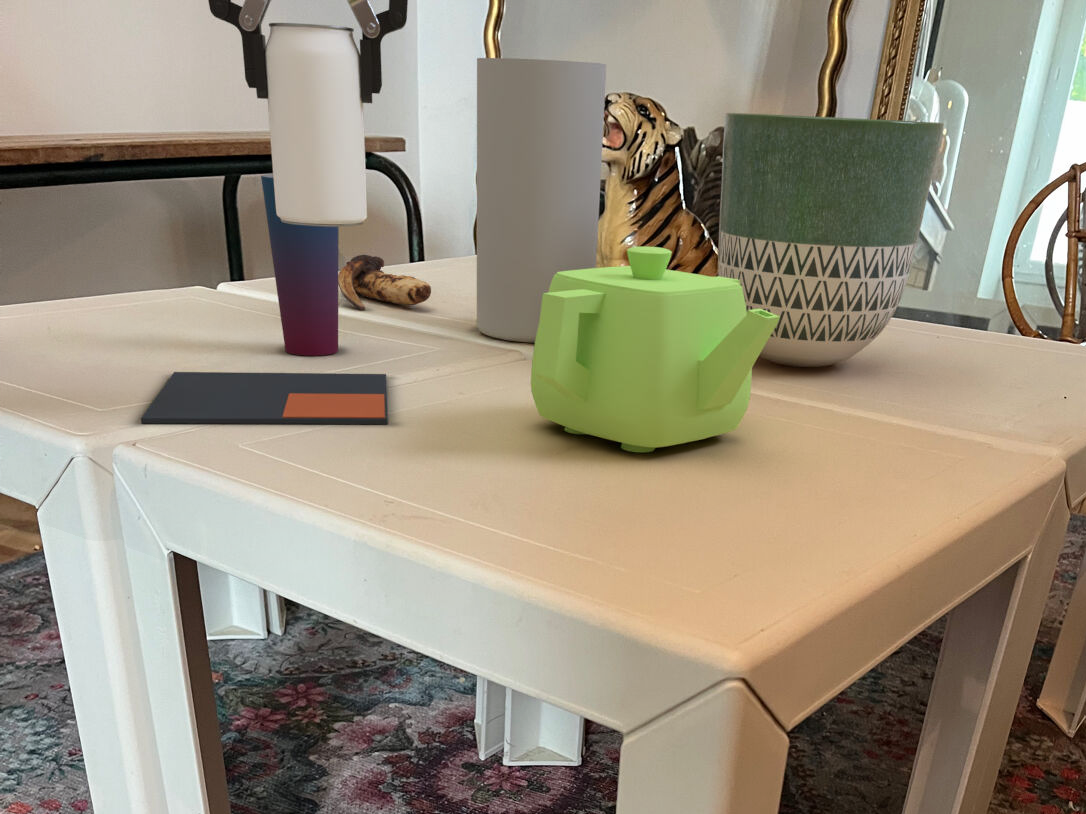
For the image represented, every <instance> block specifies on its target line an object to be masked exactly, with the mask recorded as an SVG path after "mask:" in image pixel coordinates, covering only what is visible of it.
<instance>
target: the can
mask: <svg viewBox="0 0 1086 814" xmlns="http://www.w3.org/2000/svg"><path fill="white" fill-rule="evenodd" d="M268 27H270V29H269V30H270V32H269V36H268V38H267V42H266V48H265V66H266V80H267V93H268V99H267V108H268V123H269V138H270V152H271V163H272V174H273V178H274V191H275V203H276V213H277V216H278V217H280V218H281V221H282V222H284V223H288V224H295V225H305V226H325V227H338V228H341V227H356V226H362V225H364V222H365V220H366V219H367V218H368V202H367V201H368V200H367V171H366V146H365V145H366V143H365V141H366V140H365V119H364V118H365V117H364V103H362V83H361V59H360V50H359V48H358V47H357V44H356V41H355V39H354V33H353V32H355V31H354V30H355V29H354V28H352V27H348V26H338V25H330V24H329V25H327V24H315V23H299V22H298V23H295V22H269V23H268Z"/></svg>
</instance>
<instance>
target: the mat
mask: <svg viewBox="0 0 1086 814" xmlns="http://www.w3.org/2000/svg"><path fill="white" fill-rule="evenodd" d="M388 417H389V416H388V386H387V374H386V373H329V372H327V373H325V372H322V373H320V372H319V373H318V372H317V373H316V372H314V373H312V372H232V371H231V372H229V371H228V372H227V371H226V372H223V371H222V372H220V371H219V372H216V371H214V372H213V371H209V372H208V371H174V372H173V373H172V374H171V376H170V377H169V379H167V381H166V382H165V384H164V385H163V386H162V388H161V389H160V390H159V392H158V394H157V395H156V396H155V398H153V401H152V402H151V403H150V405H148V407H147V408H146V410H145V412H144V413H143V414H142V415H141V417H140V423H141V424H205V425H206V424H207V425H208V424H211V425H212V424H215V425H216V424H217V425H218V424H223V425H225V424H230V425H231V424H232V425H233V424H235V425H236V424H239V425H240V424H241V425H243V424H244V425H247V424H248V425H249V424H250V425H252V424H253V425H255V424H256V425H261V424H263V425H388V424H389V418H388Z"/></svg>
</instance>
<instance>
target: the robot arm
mask: <svg viewBox="0 0 1086 814" xmlns="http://www.w3.org/2000/svg"><path fill="white" fill-rule="evenodd" d="M346 1H347V3H348V6H349V8H350V10H351V11H352V13H353V16H354V17H355V19H356V21H357V23H358V25H359V28H360V30H361V37H362V38H361V39H359V53H360V59H361V83H362V103H363V104H373V94H377V95H379V94H380V93H381V90H382V87H383V76H382V75H383V74H382V73H383V72H382V46H381V45H382V44H381V43H382V41H383V39H384V37H385V36H386V35H388V34H391V33H394V32H397V31H400V30H402V29H403V28H404V27H405V26H406V24H407V20H408V4H409V3H408V2H409V0H388V9H387V10H383V11H381V12H378V13H377V14H375V12H374V10H373V8H372V6H371V4H370V1H369V0H346ZM271 2H272V0H244V2H243V5H239V4H237V3H235V2H233V1H232V0H208V7H209V11H210V13H211V15H212V16H214V18H216V19H218V20H220V21H224V22H226V23H227V24H230V25H232V26H234V27H235V28H237V30H238V31H239V33H240V36H241V45H242V55H243V67H244V79H245V81H246V83H247V84H246V85H247V86H248V88H249V89H255V90H256V91H255V93H256V99H259V100H260V99H262V100H268V93H267V80H266V66H265V48H266V44H267V42H266V35H265V34H263V33H262V24H263V21H264V19H265V17H266V14H267V12H268V9H269V7H270V4H271Z"/></svg>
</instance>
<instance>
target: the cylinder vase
mask: <svg viewBox="0 0 1086 814" xmlns="http://www.w3.org/2000/svg"><path fill="white" fill-rule="evenodd" d="M606 76H607V64H606V63H598V62H589V61H588V62H587V61H574V60H573V61H572V60H555V59H537V58H536V59H535V58H512V57H511V58H508V57H477V58H476V326H477V329H478V330H479V331H480V333H482V334H483V335H486V336H488V337H491V338H494V339H498V340H502V341H503V340H504V341H510V342H517V343H529V344H531V343H532V344H535V340H536V335H537V330H538V326H539V321H540V313H541V305H542V297H543V293H548V291H549V288H550V285H551V282H552V279H553V277H554V275H556V273H557V272H561V271H569V270H580V269H592V268H597V257H598V239H599V237H598V236H599V220H600V201H601V200H600V197H601V181H602V180H601V177H602V161H603V160H602V158H603V141H604V140H603V139H604V138H603V137H604V121H605V120H604V118H605V100H606V83H607V81H606V80H607V79H606V78H607V77H606Z"/></svg>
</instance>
